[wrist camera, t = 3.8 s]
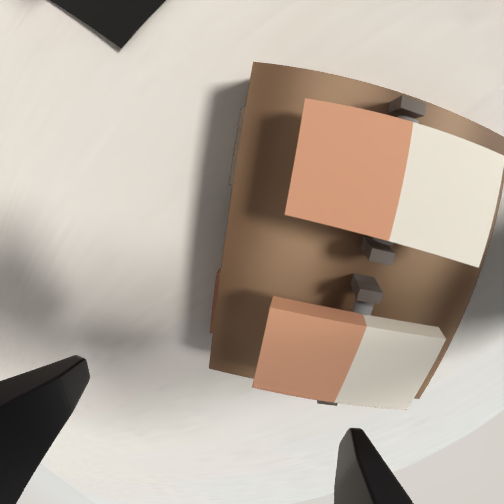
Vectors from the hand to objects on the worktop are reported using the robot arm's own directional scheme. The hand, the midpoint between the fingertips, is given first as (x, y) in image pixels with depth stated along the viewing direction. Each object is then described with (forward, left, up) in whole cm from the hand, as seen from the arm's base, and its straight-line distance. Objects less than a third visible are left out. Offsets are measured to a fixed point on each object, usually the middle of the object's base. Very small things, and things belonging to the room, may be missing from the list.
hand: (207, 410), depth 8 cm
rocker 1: (-6, -8, -7) cm, 12 cm away
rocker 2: (-6, +1, -7) cm, 9 cm away
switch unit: (-6, -3, -12) cm, 13 cm away
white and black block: (+16, -33, -12) cm, 38 cm away
